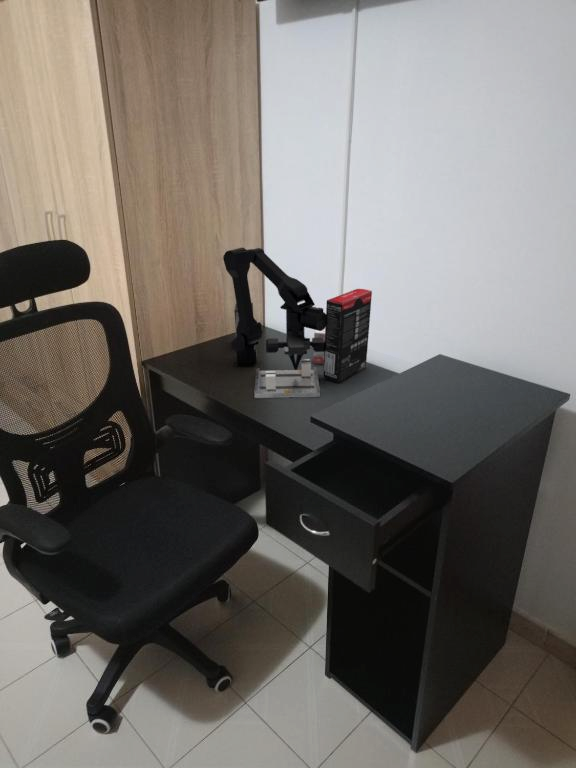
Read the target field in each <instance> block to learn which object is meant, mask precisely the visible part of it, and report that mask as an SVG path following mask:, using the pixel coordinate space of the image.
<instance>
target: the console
mask: <svg viewBox="0 0 576 768" xmlns="http://www.w3.org/2000/svg"><path fill="white" fill-rule="evenodd" d="M312 368H313V369H311V376H303V377H302V375H301V369H297V370H294V369H291V370H290V369H285V370H284V369H283V370H281V369H276V370H275V369H273V370H272V369H271V370H270V369H269V371H275V372H276V389H267V390H266V371H267V370H260V367H256V368H255V378H254V379H255V380H254V390H253V391H254V392H253V393H254V399H276V398H277V399H279V398H282V399H283V398H284V399H285V398H288V399H289V397H293V398H321V397H320V395H321V388H320V382H319V376H318V375H319V374H318V368H317V366H313V367H312Z"/></svg>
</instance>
